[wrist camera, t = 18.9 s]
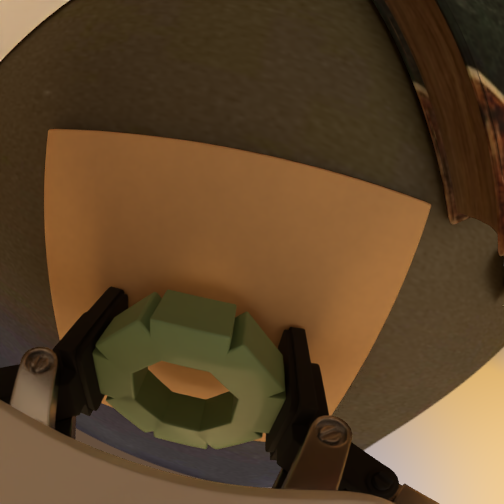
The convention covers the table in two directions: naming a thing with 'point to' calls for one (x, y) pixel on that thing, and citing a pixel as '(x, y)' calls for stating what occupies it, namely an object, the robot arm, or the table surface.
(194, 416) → the ring
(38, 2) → the napkin holder
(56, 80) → the table surface
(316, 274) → the cork mat
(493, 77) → the book
